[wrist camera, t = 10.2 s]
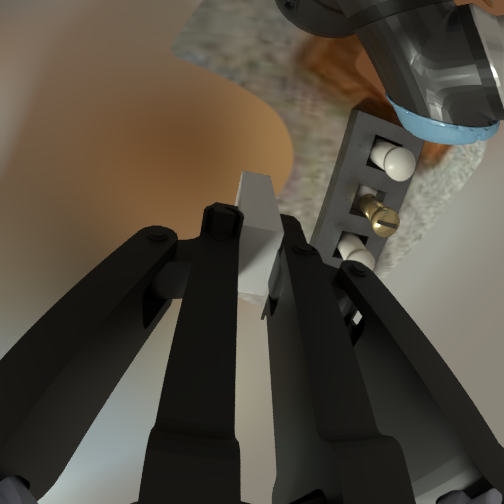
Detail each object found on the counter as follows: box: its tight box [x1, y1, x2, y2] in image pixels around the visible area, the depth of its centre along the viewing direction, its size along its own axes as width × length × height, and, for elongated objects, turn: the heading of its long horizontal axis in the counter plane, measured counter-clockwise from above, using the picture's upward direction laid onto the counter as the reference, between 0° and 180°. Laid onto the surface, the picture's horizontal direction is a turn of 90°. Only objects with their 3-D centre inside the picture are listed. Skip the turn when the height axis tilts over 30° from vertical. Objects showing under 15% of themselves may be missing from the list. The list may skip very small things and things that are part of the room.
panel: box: [309, 109, 424, 269], centre depth 44 cm, size 26×12×3 cm, turn 168°
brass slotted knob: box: [359, 194, 400, 237], centre depth 40 cm, size 4×4×8 cm
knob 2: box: [368, 139, 416, 181], centre depth 38 cm, size 5×5×8 cm
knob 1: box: [337, 231, 375, 270], centre depth 46 cm, size 5×5×8 cm
